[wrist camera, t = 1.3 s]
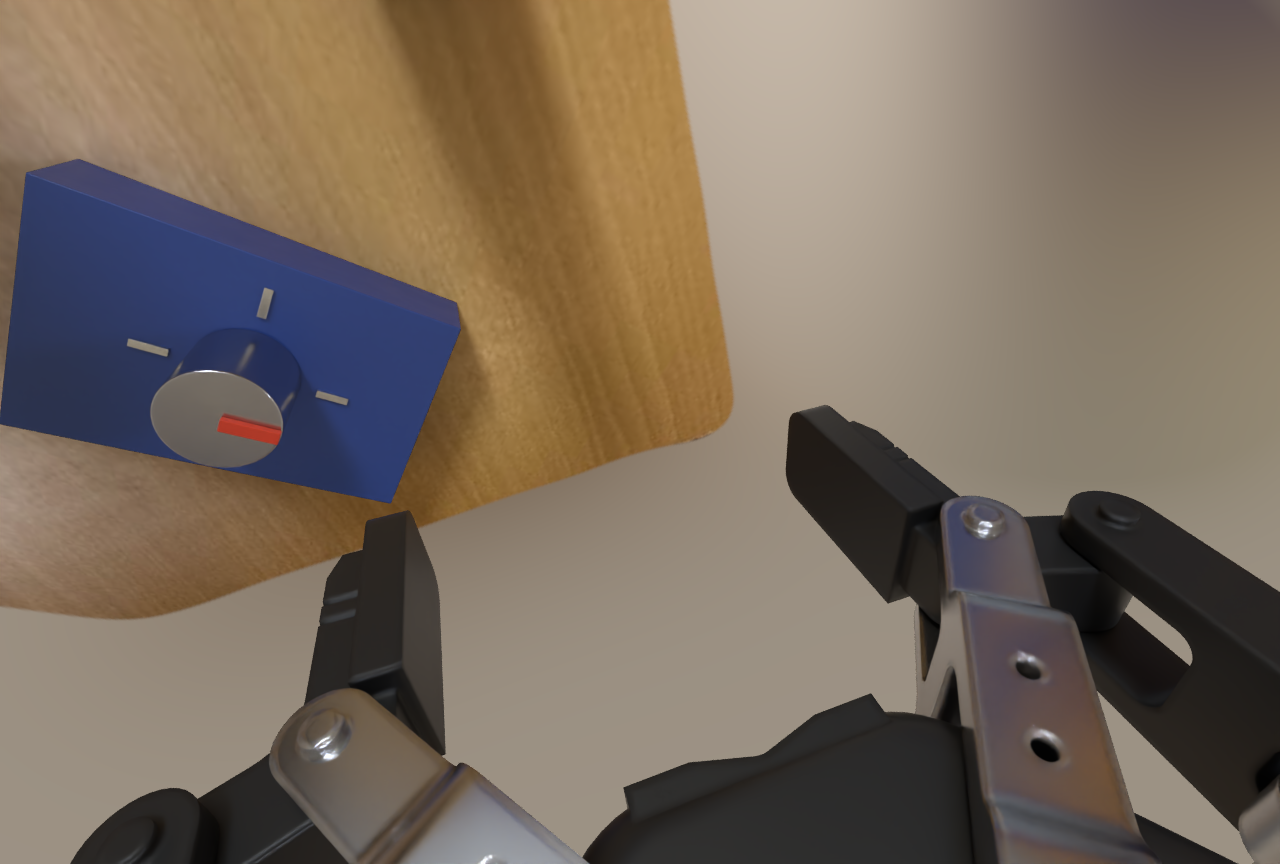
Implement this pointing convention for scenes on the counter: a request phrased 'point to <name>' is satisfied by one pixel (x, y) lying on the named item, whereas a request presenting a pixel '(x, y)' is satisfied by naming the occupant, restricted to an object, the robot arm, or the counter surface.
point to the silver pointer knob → (227, 399)
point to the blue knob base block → (211, 328)
